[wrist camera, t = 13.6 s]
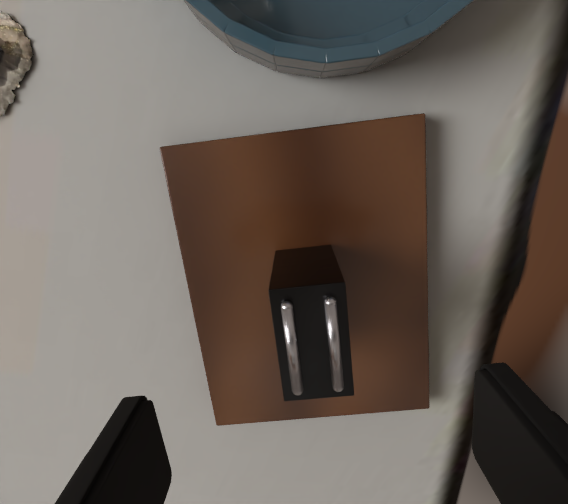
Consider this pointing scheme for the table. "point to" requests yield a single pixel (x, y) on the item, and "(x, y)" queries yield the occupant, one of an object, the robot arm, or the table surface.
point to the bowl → (323, 31)
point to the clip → (311, 324)
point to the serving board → (298, 234)
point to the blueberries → (12, 58)
